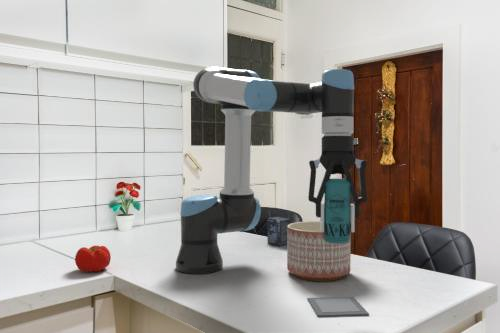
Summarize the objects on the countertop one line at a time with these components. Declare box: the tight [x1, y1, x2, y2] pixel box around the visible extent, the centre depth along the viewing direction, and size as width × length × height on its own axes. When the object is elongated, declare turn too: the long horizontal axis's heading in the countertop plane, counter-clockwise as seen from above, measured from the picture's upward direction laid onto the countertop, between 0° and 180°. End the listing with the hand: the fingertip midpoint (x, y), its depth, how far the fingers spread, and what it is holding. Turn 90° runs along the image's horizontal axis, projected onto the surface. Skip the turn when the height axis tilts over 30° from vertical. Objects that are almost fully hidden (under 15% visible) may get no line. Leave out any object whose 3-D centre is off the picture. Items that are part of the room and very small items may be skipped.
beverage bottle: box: [324, 165, 352, 244], centre depth 107 cm, size 6×7×20 cm
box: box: [267, 216, 291, 247], centre depth 181 cm, size 8×6×11 cm
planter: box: [286, 220, 352, 282], centre depth 137 cm, size 19×19×15 cm
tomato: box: [74, 245, 112, 273], centre depth 142 cm, size 11×11×8 cm
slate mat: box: [306, 296, 370, 318], centre depth 109 cm, size 12×12×1 cm
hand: (337, 230), depth 108 cm, fingers closed on beverage bottle, 6 cm apart
